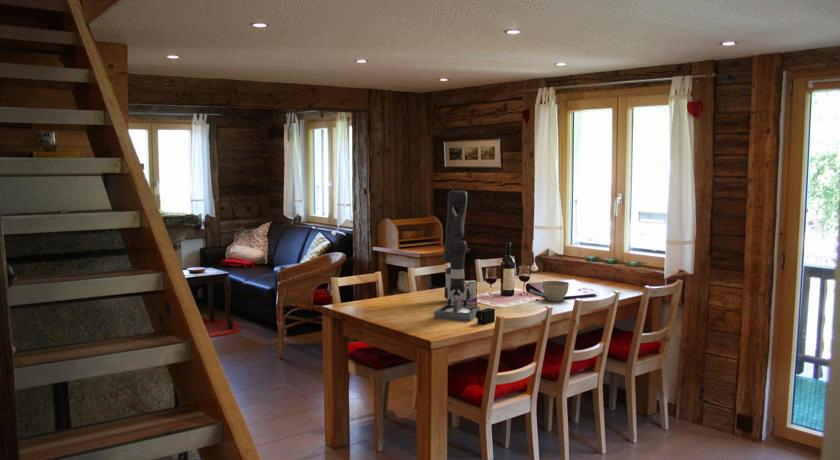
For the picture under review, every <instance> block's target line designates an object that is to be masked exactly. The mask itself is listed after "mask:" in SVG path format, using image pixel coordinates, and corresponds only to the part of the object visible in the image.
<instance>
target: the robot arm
mask: <svg viewBox="0 0 840 460" xmlns="http://www.w3.org/2000/svg"><path fill="white" fill-rule="evenodd" d="M467 206H468V192H467V191H466V190H457V189H451V190H449V191H448V194H447V212H446V213H447V217H446V226H445V240H444V241H445V242H444V248H443V256H442V257H443V261H444V262H445V263H450V267H448V268H446V269H445V287H444V295H443V296H444V298H445V302H446V303H447V305H449V306H451V305H452V304H453V301H454V300H456V299H457V295H458V296H460V295H461V296H462V297H463V299H464V307H466V306H467V299H470V298H471V296H470V288H465V287H464V281H465V264H464V263H465V256H466V253H467V250H468V249H467V248H468V244H467V242H466V241H465V240H462V239H463V238H464V236H465V221H466V214H467V208H468V207H467ZM454 207H459V208H460V210H459V212H458V214H457V213H456V210H455V208H454ZM465 290H466V292H467V297H466V295H465V293H464V291H465Z"/></svg>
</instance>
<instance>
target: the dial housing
mask: <svg viewBox="0 0 840 460" xmlns="http://www.w3.org/2000/svg"><path fill="white" fill-rule="evenodd" d="M450 308H453V304H451V306H449V305H448V304H446V303H445V304H444V305H443V306H441V307H439V308H438V309H436V310H435V311H433V316H434V317H433V318H434V319H435V320H445V321H448V320H449V321H458V322H459V321H460V322H472V320H474V319H475V318H476V312H477V311H478V310H481V309H480V308H481V307H480V306H478V305H477V306H466V307H464V306H462V308H464V309H469V310H470V312H469V313H458V312H445V310H446V309H450Z"/></svg>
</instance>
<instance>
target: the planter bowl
mask: <svg viewBox="0 0 840 460" xmlns="http://www.w3.org/2000/svg"><path fill="white" fill-rule="evenodd" d="M569 286H570V283H569V282H567V281H562V280H545V281H542V282H541V287H542V291H543V294H544V295H545V298H546V300H547V301H550V302H562V301H563V300H564V298H566V295H567V293H568V291H569Z"/></svg>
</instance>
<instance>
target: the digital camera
mask: <svg viewBox="0 0 840 460" xmlns="http://www.w3.org/2000/svg"><path fill="white" fill-rule="evenodd" d="M495 312H496V309H495V308H490V307H487V308H483V309H480V310H478V311H477V312H476V317H475V318H476V319H477V320H476V321H477V322H476V323H477V325H481V326H482V325H483V326H486V325H488V324H492V323H494V322H495V321H496V317H495V316H496V315H495V314H496V313H495Z"/></svg>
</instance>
